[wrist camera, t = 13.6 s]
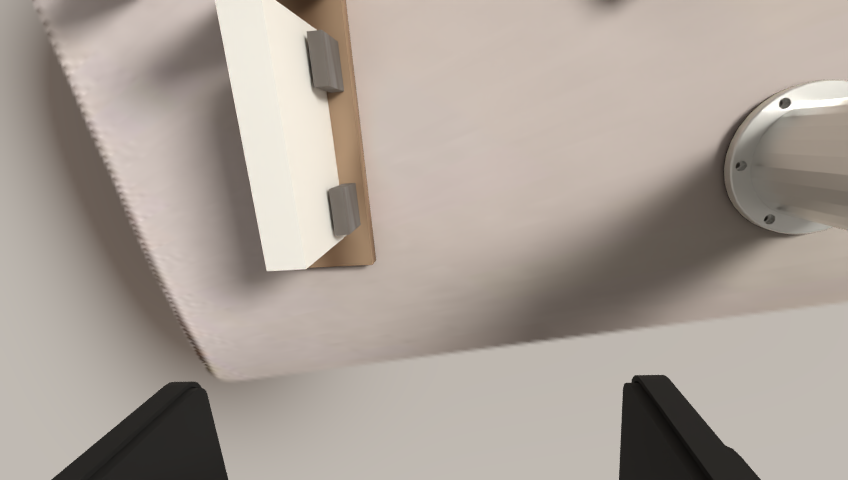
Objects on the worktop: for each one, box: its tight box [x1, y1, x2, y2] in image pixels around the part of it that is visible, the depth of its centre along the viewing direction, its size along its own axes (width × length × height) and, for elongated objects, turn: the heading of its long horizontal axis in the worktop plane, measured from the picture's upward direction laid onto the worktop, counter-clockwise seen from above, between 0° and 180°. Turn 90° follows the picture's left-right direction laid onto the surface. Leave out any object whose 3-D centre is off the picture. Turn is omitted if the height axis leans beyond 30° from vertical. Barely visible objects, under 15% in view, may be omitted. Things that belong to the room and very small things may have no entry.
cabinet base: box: [276, 0, 376, 268], centre depth 31 cm, size 8×26×14 cm, turn 5°
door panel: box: [215, 0, 346, 271], centre depth 31 cm, size 4×18×10 cm, turn 5°
